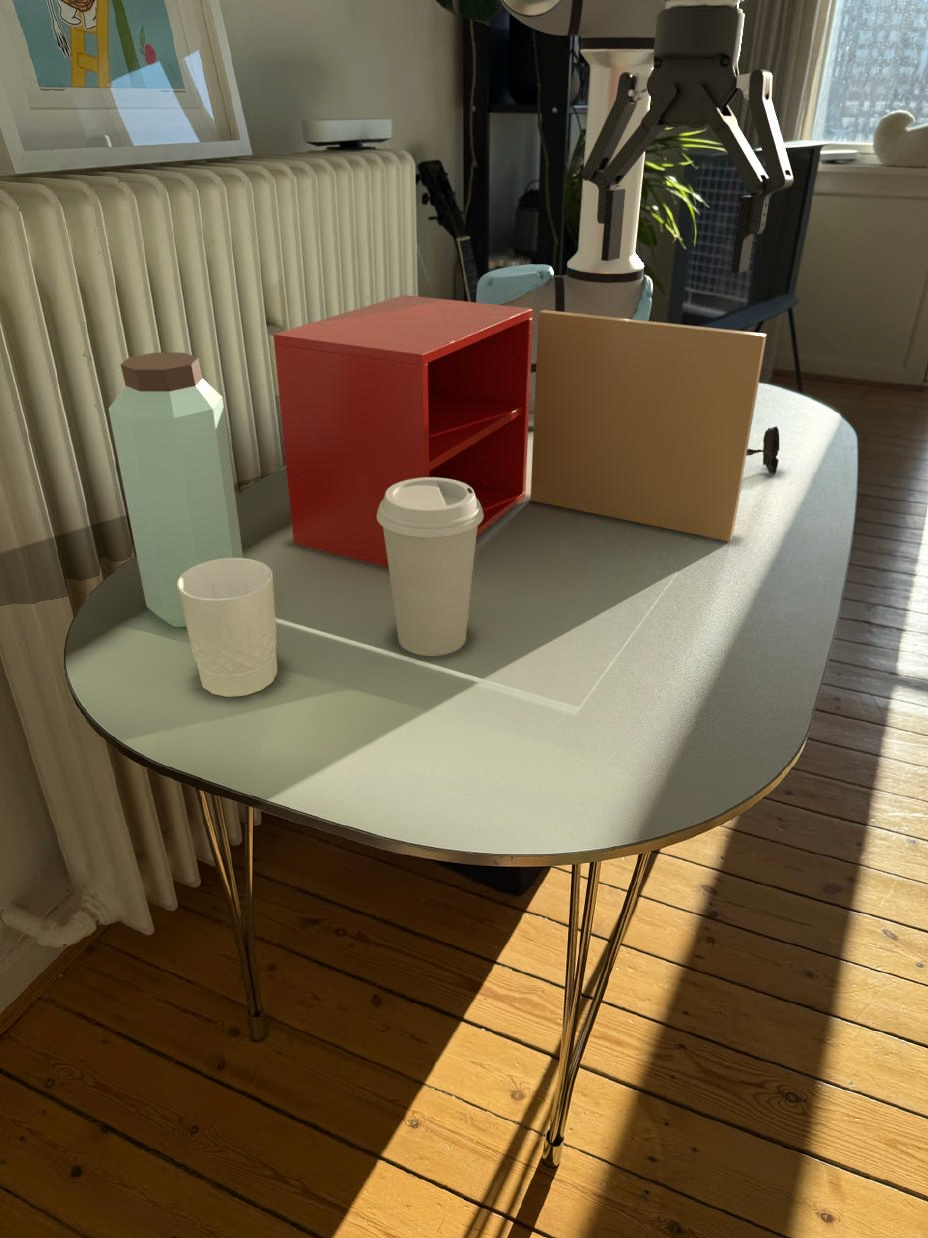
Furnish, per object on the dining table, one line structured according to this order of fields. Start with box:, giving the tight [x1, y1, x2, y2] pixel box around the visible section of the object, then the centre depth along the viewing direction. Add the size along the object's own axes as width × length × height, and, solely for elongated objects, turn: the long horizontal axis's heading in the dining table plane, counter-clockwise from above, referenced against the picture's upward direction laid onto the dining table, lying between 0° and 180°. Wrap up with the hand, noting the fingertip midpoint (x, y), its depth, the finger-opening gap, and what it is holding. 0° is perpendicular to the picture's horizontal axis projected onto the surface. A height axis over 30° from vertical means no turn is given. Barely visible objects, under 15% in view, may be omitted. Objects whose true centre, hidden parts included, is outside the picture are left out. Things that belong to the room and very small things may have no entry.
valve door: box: [529, 310, 768, 542], centre depth 109 cm, size 8×26×24 cm, turn 61°
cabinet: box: [272, 294, 533, 568], centre depth 106 cm, size 18×26×24 cm
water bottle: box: [108, 352, 244, 628], centre depth 86 cm, size 10×10×25 cm
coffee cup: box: [377, 477, 484, 657], centre depth 83 cm, size 10×10×15 cm
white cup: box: [177, 557, 278, 698], centre depth 78 cm, size 8×8×10 cm
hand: (672, 265), depth 89 cm, fingers open, 13 cm apart
